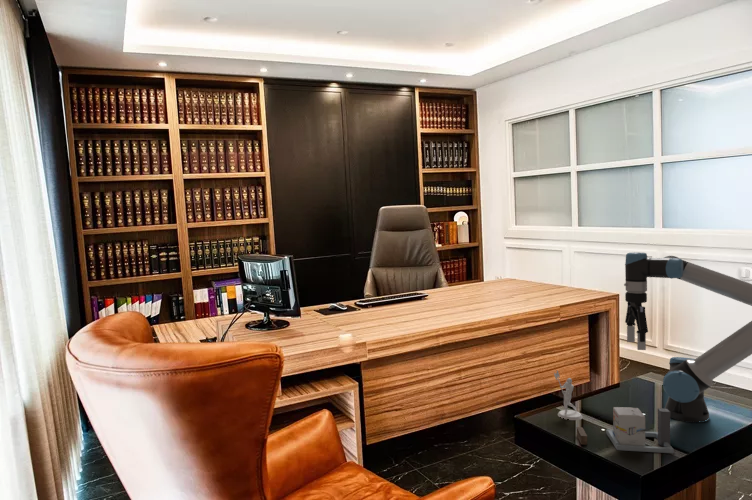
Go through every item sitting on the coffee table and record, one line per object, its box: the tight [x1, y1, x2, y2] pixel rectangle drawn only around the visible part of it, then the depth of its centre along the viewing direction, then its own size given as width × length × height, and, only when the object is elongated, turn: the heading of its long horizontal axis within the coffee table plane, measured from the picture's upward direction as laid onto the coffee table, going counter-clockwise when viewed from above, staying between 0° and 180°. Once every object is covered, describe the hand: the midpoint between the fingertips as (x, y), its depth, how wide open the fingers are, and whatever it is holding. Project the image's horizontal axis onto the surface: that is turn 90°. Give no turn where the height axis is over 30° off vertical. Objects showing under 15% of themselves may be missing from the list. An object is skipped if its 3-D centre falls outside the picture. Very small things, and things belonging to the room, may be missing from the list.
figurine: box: [553, 370, 584, 421], centre depth 206 cm, size 10×10×18 cm
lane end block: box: [576, 426, 588, 446], centre depth 183 cm, size 2×8×3 cm, turn 169°
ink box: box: [612, 406, 646, 446], centre depth 178 cm, size 9×8×12 cm
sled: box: [605, 407, 675, 454], centre depth 179 cm, size 18×14×12 cm
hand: (636, 345), depth 201 cm, fingers open, 13 cm apart
